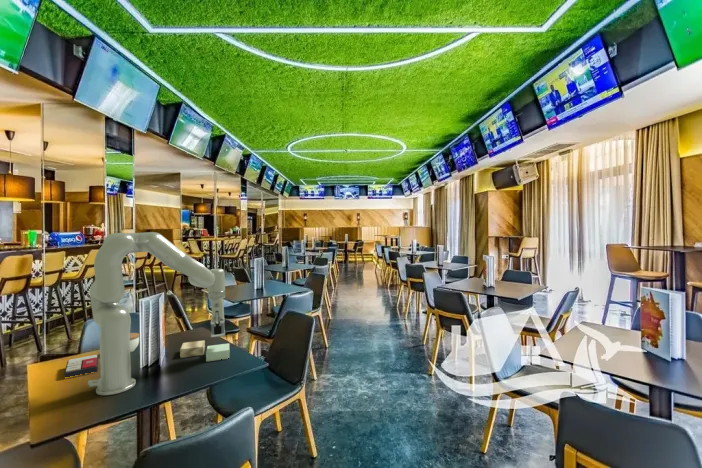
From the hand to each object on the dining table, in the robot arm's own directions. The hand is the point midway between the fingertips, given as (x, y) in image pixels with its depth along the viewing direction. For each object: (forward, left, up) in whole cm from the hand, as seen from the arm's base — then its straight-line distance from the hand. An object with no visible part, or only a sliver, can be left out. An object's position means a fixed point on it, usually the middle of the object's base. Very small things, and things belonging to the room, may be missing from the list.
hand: (218, 331), depth 160 cm
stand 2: (0, 0, -12) cm, 12 cm away
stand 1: (-12, +10, -12) cm, 20 cm away
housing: (0, 0, -1) cm, 1 cm away
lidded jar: (-44, +26, -12) cm, 53 cm away
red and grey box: (-56, +6, -12) cm, 58 cm away
